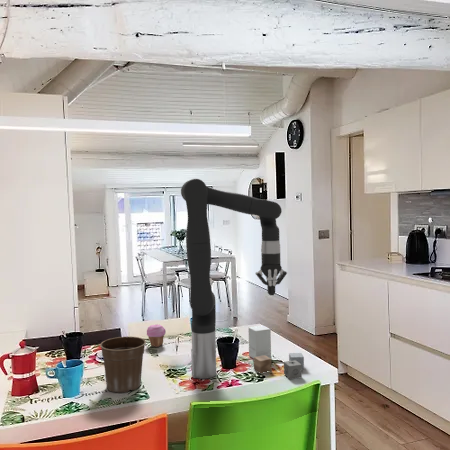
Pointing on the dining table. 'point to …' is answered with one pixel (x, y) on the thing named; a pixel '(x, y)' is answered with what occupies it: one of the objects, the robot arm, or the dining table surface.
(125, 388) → the plant pot
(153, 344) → the cupcake
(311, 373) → the dining table surface
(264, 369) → the walnut block
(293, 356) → the slate block
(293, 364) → the dice cube
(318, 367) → the dining table surface
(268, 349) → the supplement box
